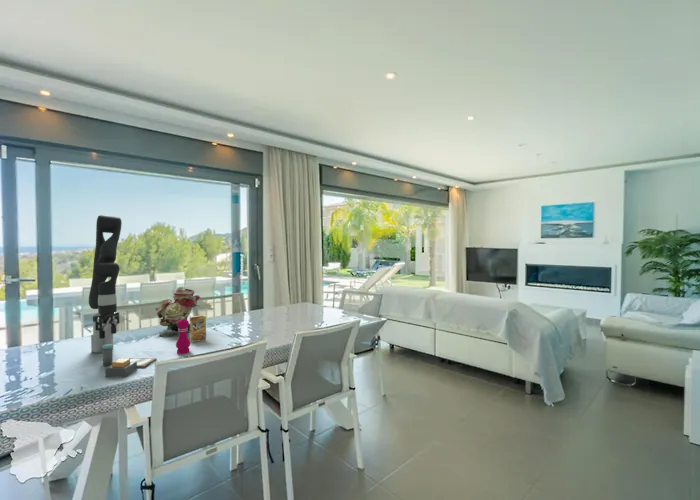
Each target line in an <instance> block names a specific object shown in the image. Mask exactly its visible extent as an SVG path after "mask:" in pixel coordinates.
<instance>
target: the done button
mask: <svg viewBox="0 0 700 500" xmlns="http://www.w3.org/2000/svg"><path fill="white" fill-rule="evenodd" d="M128 364H130V359H129V358H118V359H116V360H114V361H113V362H112V367H125V366H126V365H128Z"/></svg>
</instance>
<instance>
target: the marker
mask: <svg viewBox="0 0 700 500" xmlns="http://www.w3.org/2000/svg"><path fill="white" fill-rule="evenodd" d="M112 348H113V349H114V343H113V344H106V345H103V346H102V349H103V353H102V367H105V368H107V367H108V366H110V365H112V362H114V361H113V355H114V354H113V350H112Z"/></svg>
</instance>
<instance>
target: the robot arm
mask: <svg viewBox="0 0 700 500" xmlns="http://www.w3.org/2000/svg"><path fill="white" fill-rule="evenodd" d="M122 224H123V223H122V218H121V217H119V216H112V215H103V214H100V215H98V216H97V218H96V226H95V227H96V229H95V231H96V232H95V250H94V257H93V270H92V279H91V285H90V290H89V294H88V304H89V305H88V306H89V307H90V308H91V309H93V310H97V313H95V314H94V315H93V316H92V334H91V335H90V338H91V339H90V340H91V341H90V343H91V347H90V349H91V350H90V351H91V353H94V354H103V349H102V346H103V345H106V344H113V345H114V335H115V334H117V326H118V325H119V324H120V312H118V310H117V309H118V308H117V307H118V306H117V302H118V301H117V294H116V293H117V288H116V287H117V285H116V284H117V280H118V276H119V273H120V269H121V268H120V266H119V264H118V263H117V262H115V261H116V259H117V248H118V244H119V241H120V235H121V232H122ZM105 233H106V234H111V236H109V238H107V239H105V237H104V234H105ZM109 278H110V279H109ZM107 279H109V280H107ZM113 350H114V347H113V348H112V351H113Z"/></svg>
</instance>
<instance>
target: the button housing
mask: <svg viewBox="0 0 700 500" xmlns="http://www.w3.org/2000/svg"><path fill="white" fill-rule="evenodd" d="M137 370H138V368H137V361H130V364H128V365H126V366H125V367H112V365H110V366H108V367H105V368H104V377H105V378H126V377H128V376H129V375H131V374H132V373H134V372H136V371H137Z"/></svg>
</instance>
